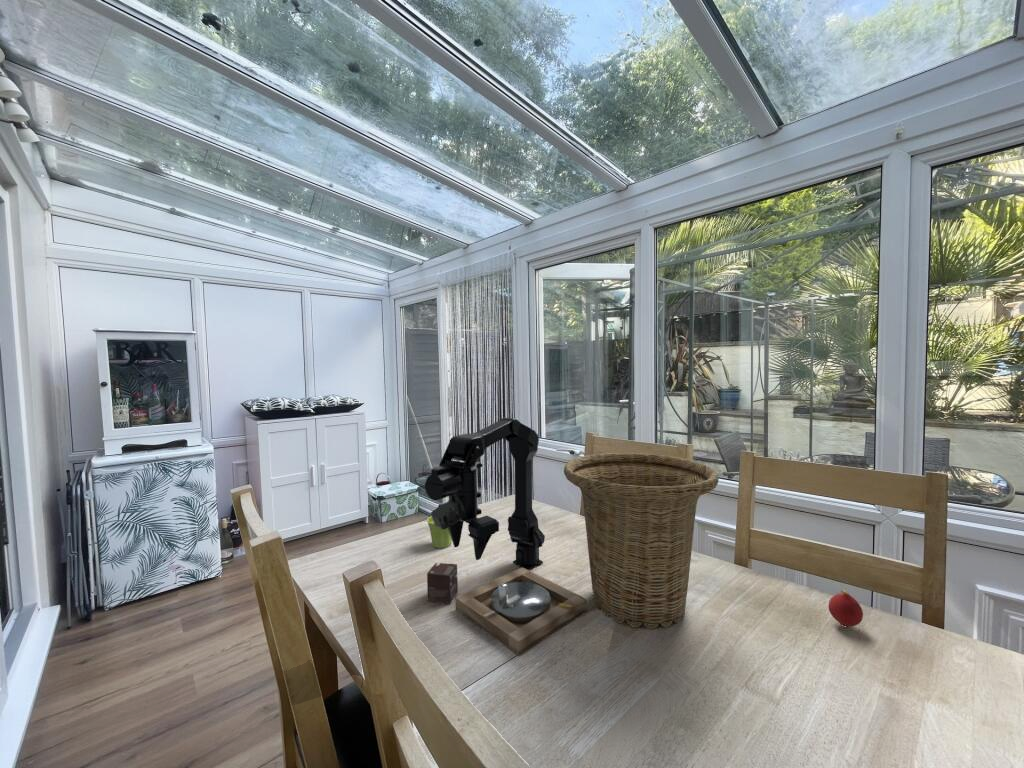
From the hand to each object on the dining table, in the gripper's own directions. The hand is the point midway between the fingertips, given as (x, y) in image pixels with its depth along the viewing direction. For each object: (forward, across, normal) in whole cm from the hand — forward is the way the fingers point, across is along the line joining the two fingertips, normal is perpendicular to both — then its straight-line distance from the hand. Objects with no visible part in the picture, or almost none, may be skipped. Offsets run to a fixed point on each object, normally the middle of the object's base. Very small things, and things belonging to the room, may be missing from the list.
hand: (466, 552), depth 100 cm
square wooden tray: (+13, +10, +8) cm, 18 cm away
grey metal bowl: (+12, +10, +8) cm, 17 cm away
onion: (+14, +62, +57) cm, 85 cm away
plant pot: (+14, -35, +14) cm, 40 cm away
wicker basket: (+14, +26, +32) cm, 43 cm away
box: (+13, -8, -2) cm, 15 cm away
